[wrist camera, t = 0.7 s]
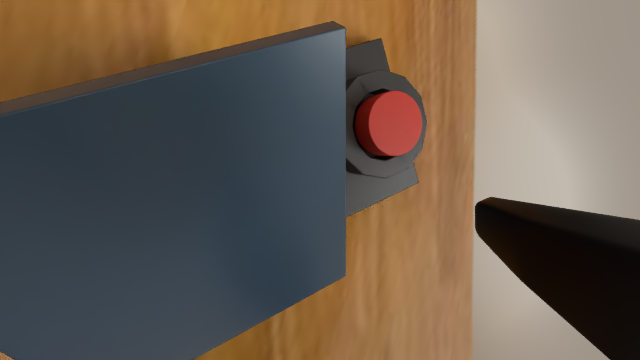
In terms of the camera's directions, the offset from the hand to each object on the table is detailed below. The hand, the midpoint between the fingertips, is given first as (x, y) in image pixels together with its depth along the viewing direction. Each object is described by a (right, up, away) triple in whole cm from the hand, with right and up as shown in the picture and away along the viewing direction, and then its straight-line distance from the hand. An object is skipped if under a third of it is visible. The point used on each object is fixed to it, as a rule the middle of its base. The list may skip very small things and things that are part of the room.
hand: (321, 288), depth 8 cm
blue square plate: (-4, 0, +4) cm, 6 cm away
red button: (+4, +6, +15) cm, 16 cm away
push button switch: (+3, +6, +17) cm, 18 cm away
